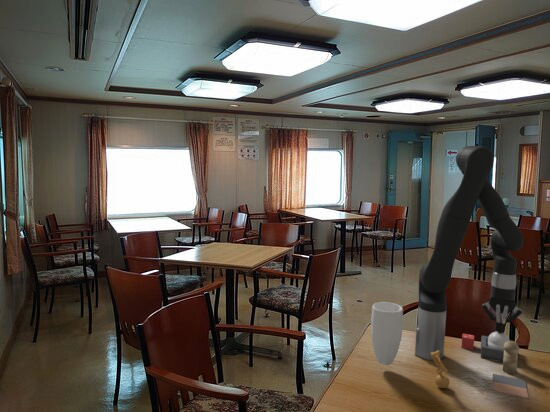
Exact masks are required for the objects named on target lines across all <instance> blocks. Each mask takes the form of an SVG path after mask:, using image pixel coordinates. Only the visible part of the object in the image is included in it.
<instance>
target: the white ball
mask: <svg viewBox="0 0 550 412" xmlns="http://www.w3.org/2000/svg"><path fill="white" fill-rule="evenodd" d="M507 341H511V340H510V338H509V337H508V335H507V334H506V333H505V332H502V333H498V332H497V331H494V332H491V333H490V334H489V335H488V346H489V347H494V348H500V349H504V344H505V343H506V342H507Z"/></svg>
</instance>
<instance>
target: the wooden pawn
mask: <svg viewBox="0 0 550 412" xmlns="http://www.w3.org/2000/svg"><path fill="white" fill-rule="evenodd" d="M519 352H520V347H519V344H518V343H517V342H516V341H515V342H514V340H510V341H507V342H506V343H505V344H504V358H503V362H502V372H504V373H505V374H508V375H512V376H513V375H517V371H518V370H517V369H518V360H519V359H518V358H519V357H518V356H519Z"/></svg>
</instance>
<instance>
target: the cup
mask: <svg viewBox="0 0 550 412" xmlns="http://www.w3.org/2000/svg"><path fill="white" fill-rule="evenodd" d="M403 316H404V308H403V307H402V305H400V304H397V303H393V302H387V301H380V302H379V301H378V302H375V303H373V304H372V307H371V317H370V318H371V320H370V330H371V331H370V333H371V334H370V336H371V342H372V347H373V351H374V355H375V358H376V360H377V362H378V363H379V364H381V365H383V366H390V365H392V364H393V362H394V361H395V359H396V357H397V354H398V352H399V349H400V346H401V341H402V335H403V326H404V321H403V319H404V317H403Z"/></svg>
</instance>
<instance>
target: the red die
mask: <svg viewBox="0 0 550 412" xmlns="http://www.w3.org/2000/svg"><path fill="white" fill-rule="evenodd" d="M461 335H462V336H461V346H460V347H461V348H462V349H467V350H471V351H474V348H475V347H474V346H475V344H474V343H475V335H473V334H469V333H468V334H467V333H462V334H461Z"/></svg>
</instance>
